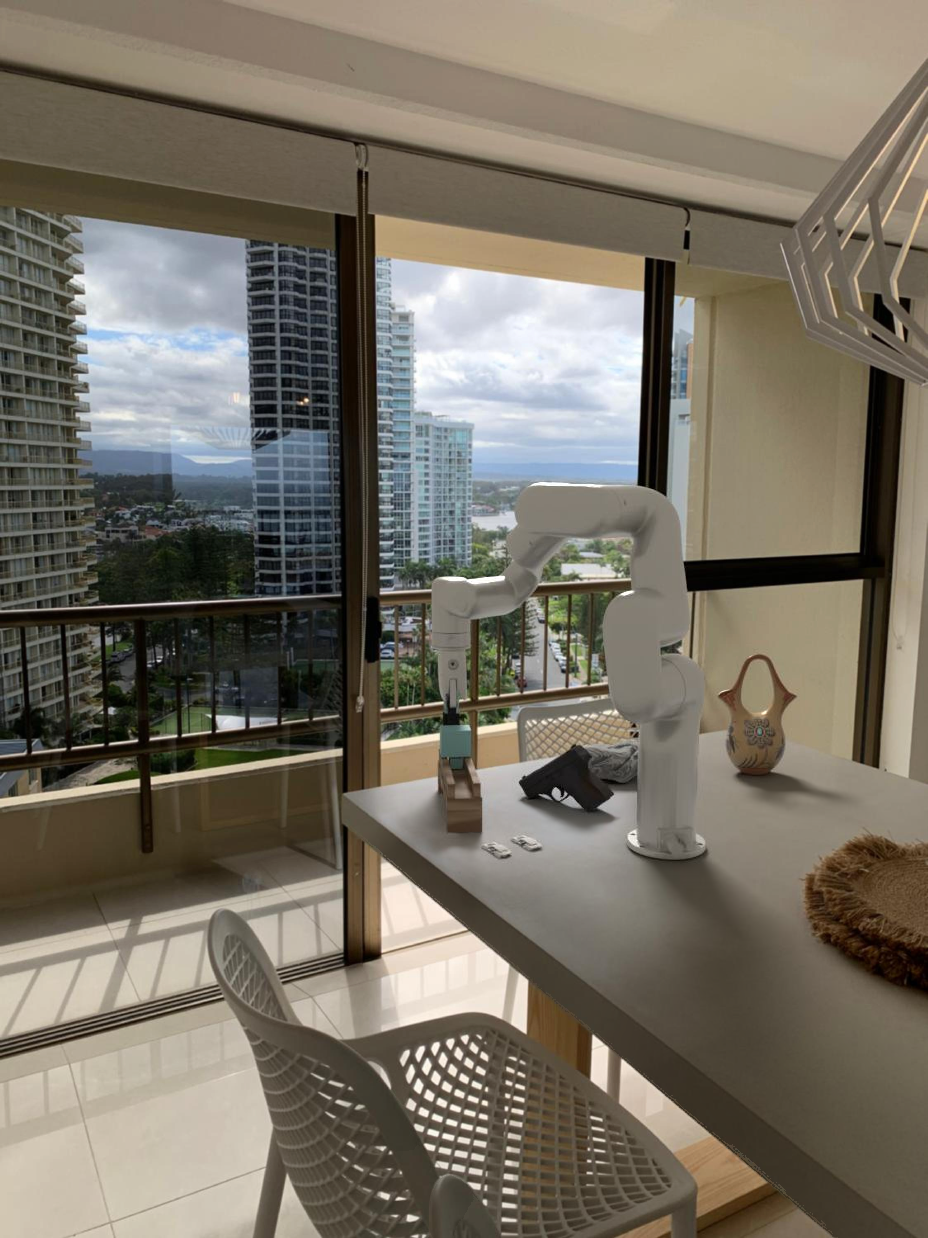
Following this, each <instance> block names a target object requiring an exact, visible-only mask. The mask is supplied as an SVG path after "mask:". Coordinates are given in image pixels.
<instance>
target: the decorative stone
mask: <svg viewBox="0 0 928 1238" xmlns="http://www.w3.org/2000/svg"><path fill="white" fill-rule="evenodd" d="M581 746H582V747H584V748H585V749H586V750H587V751H588V752H589V753H590V754H591V755H592V758H591V759H590V760H589V762H588V768H589V769H590V771H591V772H592V773H593V774H594V775H596V776H597V777H598V778H599V779H600V780H610V781H611V780H613V781H615V782H617V783H619V784H625V783H627V782H629V781H631V780H632V779H633V778H635V777H636V776H638V741H637V740H634V739H630V738H628V739H626V740H623V741H617V742H615V743H614V744H603V743H600V744H599V743H597V744H585V745H581ZM589 753H588V754H589Z"/></svg>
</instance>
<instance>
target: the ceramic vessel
mask: <svg viewBox="0 0 928 1238" xmlns="http://www.w3.org/2000/svg"><path fill="white" fill-rule="evenodd" d="M757 660H762V661H764V662H765V663H766V665H767V668H768V670H769V671H768V672H769V674H770V677H771V682H772V689H773V690H772V691H773V692H772V693H773V696H772V697H773V698H772V702H771V703H770V705H769V706H768V707H767V708H765V709H764V710H762V711H759V712H751V711H749V710H747V709H746V707H745V706H744V705H743V703H742V690H743V689H742V688H743V684H744V681H745V676H746V673H747V671H748V668H749V667H750V664H751V663H753V661H757ZM775 668H776V667H775V666H774V663H773V661H772V660H771V659H770V657H769V656H767V655H765V654H762V653H755V654H752V655H750V656H749V657H747V658H746V659H745V661H744V662H743V664H742V666H741V669H740V671H739V674H738V676H737V679H736V681H735V683H734V684H733V686H732V688H731V689H730V688H729V689H726V690H723V691H720V692H719V693H718V694H717V695H716V697H717V699H718V700H720V701H721V702H722V704H723V705H724V706H725V707H726V708H727V710H728V712H729V716H730V722H729V723H730V724H729V726H728V728H727V730H726V731H727V732H726V735H725V740H724V741H725V745H724V746H725V751H726V753H727V756H728V759H729V760H730V762H731V763H732V765H733V766H734V767H735V768H736V769H737V770H738V771H739V772H741V773H742V774H746V775H751V776H761V775H766V774H768V773H769V772H771V771H772V770H774V769H775V768H776V767H777V766H778V765H779V764H780V762H781V760H782V759H783V757H784V754H785V750H786V742H787V740H786V735H785V734H786V733H785V731H784V728H783V724H782V721H783V715H784V712H785V710H786V709H787V708H788V706H789V705H791V703H792V702H793V701H794V700H795V699H797V698H798V695H796V694H794V693H792V692H790V691H789V690H788V689H787V687H786V686H785V685H784V683H783V682H782V680H781V679H780V677H779V675H778V673H777V671H776V669H775Z"/></svg>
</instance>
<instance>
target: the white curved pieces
mask: <svg viewBox="0 0 928 1238" xmlns="http://www.w3.org/2000/svg"><path fill="white" fill-rule="evenodd" d="M510 841H511V842H513V843H515V844H519V843H525V844H524V845H523V846H522V847H523V849H525V850H527V851H535V850H538V849H541V848H542V847H543V845H542V844H541V843H540V842H538V841H537V840H536V839H535V838H533V837H528V836H526V835H524V834H523V835H519V836H514V837H512V838H511V839H510ZM481 849H482V850H485V851H489V852H490V853H491V854H494V856H495V857H497V858H498V859H500V858H502V857H504V858H505V857H508V856H511V855H512V851H511V850H510V849H508V848H507V846H505V845H504V844H499V843H497V842H496V841H492V842H488V843H485V844H482V845H481ZM495 849H496V850H495ZM491 850H493V851H491Z"/></svg>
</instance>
